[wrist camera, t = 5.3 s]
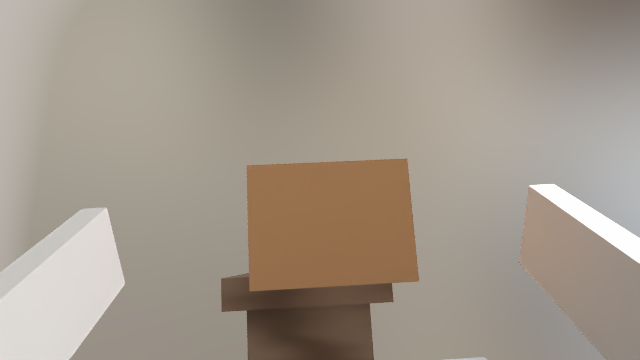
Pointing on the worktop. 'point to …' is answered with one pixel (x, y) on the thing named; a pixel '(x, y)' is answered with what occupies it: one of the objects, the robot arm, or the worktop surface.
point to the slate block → (470, 359)
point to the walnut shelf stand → (306, 319)
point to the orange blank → (330, 224)
